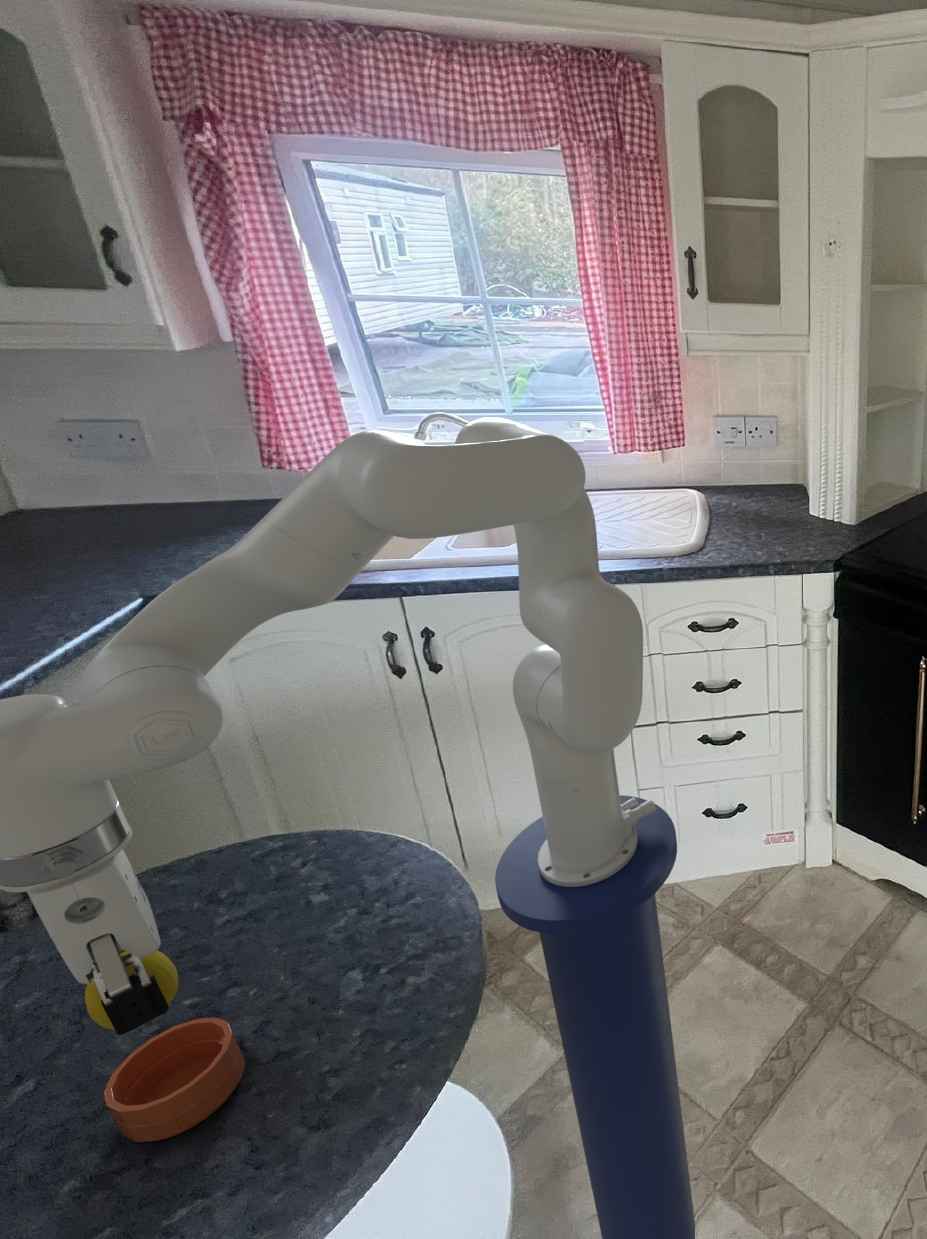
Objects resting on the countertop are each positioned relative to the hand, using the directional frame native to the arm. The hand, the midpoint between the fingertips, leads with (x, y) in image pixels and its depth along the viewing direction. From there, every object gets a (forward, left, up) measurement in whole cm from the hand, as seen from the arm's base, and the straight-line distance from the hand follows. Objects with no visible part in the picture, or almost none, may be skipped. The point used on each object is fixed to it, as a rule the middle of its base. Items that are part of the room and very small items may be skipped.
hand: (138, 997), depth 65 cm
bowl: (0, 0, -14) cm, 14 cm away
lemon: (0, 0, -3) cm, 3 cm away
